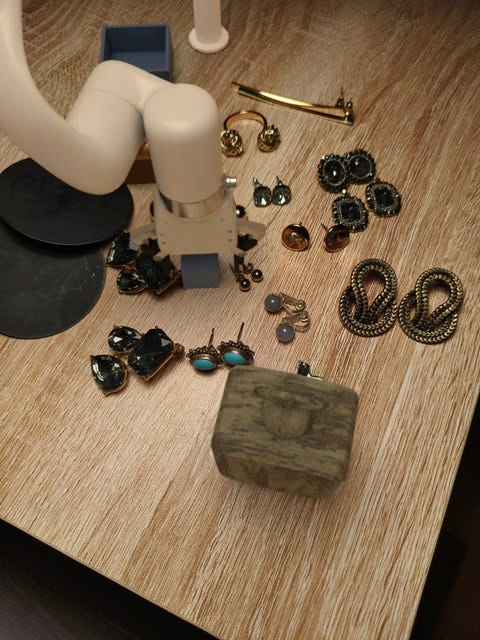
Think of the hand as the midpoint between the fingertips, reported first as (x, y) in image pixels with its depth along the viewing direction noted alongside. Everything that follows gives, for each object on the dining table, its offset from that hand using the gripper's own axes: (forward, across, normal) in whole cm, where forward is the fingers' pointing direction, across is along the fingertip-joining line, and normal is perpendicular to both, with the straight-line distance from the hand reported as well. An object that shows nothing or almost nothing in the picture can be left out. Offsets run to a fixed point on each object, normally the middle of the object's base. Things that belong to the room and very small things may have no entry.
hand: (202, 265), depth 83 cm
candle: (+2, -2, -48) cm, 48 cm away
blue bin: (+2, +10, -40) cm, 41 cm away
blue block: (+2, 0, 0) cm, 2 cm away
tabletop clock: (+2, -9, +27) cm, 28 cm away
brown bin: (+2, +5, -23) cm, 24 cm away
